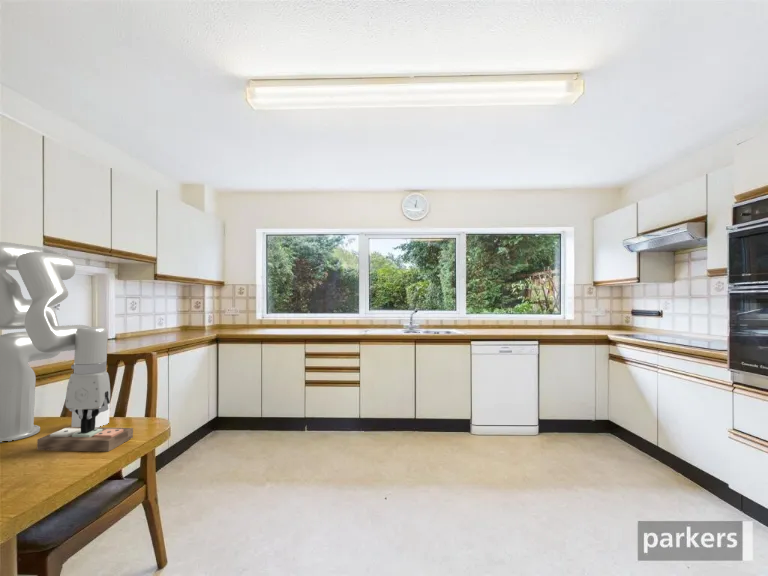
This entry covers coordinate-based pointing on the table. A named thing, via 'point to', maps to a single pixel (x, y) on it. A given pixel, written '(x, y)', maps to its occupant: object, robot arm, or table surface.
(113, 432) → the button three terracotta
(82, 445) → the button board
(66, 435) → the button one cream
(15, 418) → the robot arm
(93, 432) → the button two sage
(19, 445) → the table surface
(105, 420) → the medicine bottle
